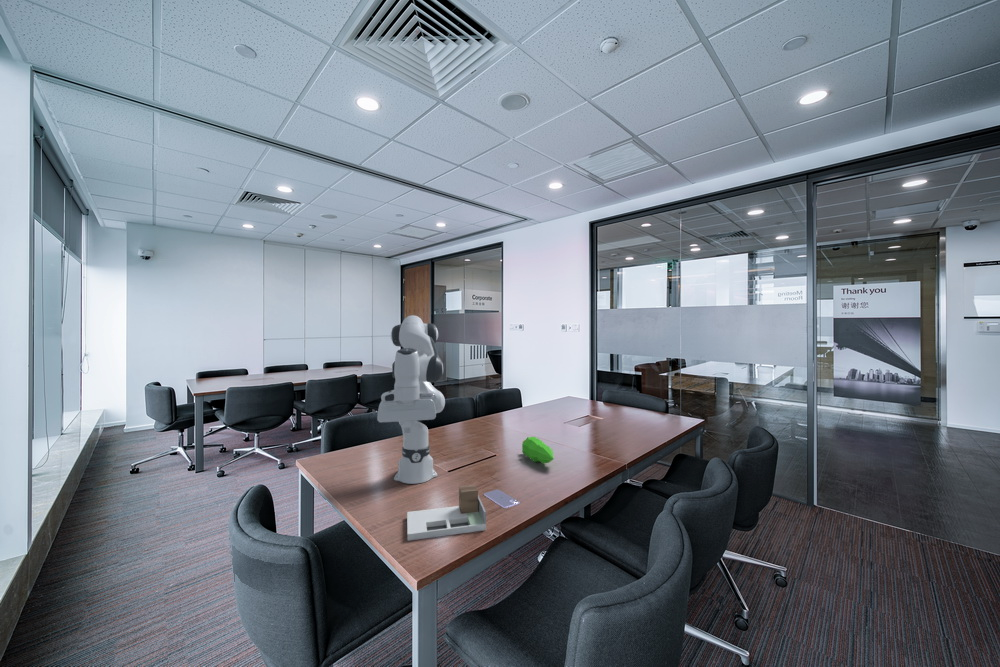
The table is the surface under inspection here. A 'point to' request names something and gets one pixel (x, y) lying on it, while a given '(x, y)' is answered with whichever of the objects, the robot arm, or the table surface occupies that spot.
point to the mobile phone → (501, 498)
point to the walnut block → (468, 499)
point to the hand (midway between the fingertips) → (407, 433)
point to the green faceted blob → (537, 450)
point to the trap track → (444, 522)
